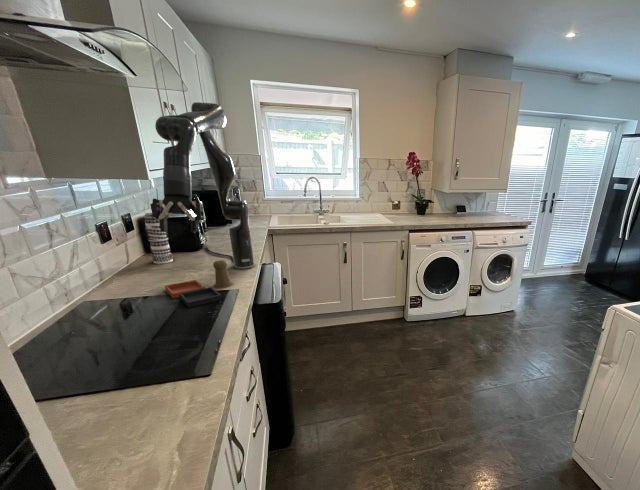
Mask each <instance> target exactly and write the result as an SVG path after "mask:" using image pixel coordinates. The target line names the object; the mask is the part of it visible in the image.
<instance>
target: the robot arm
mask: <svg viewBox="0 0 640 490" xmlns="http://www.w3.org/2000/svg"><path fill="white" fill-rule="evenodd" d="M190 110H191V111H186V112H183V113H180V114H171V115H169V114H168V115H162V116H160V117H158V118H157V119H156V121H155V125H154V128H155V131H156V133H157V134H158V136H159V137H160V138H161V139H163V140H164V141H168V142H177V143H176V144H175V145H171V146H167V147H165V148H163V171H162V181H163V182H162V183H163V185H162V186H163V199H159V198H155V197H154V198H152V206H151V207H152V208H151V213H152V216H153V217H155V218H158V219H159V221H160V230H162V232H166V233H168V231H169V229H168V219H169V217H171V216H172V215H173V214H174V215H179V214H181V215H186V216H187V217H188V218H189V219H190V221H189V222H190V233H191V234H196V233H197V232H198V229H199V224H198V223H199V221H204V220H205V213H204V203H203V201H200V200H198V199H197V200H195V201H193V199H192V198H193V190H192V188H193V186H192V185H193V184H192V173H191V155H192V151H193V147H194V144H195V142H196V137H197V135H199V137H200V140H201V142H202V146H203V148H204V151H205V154H206V159H207V161H208V166H209V169H210V171H211V175H212V177H213V180H214V183H215V187H216V190H217V194H218V198H219V203H220V209H221V211H222V215H223V217H224V218H225V219H226V220H229V221H230V220H231V221H240V222H239V224H237V225H234V226H231V227H229V228H228V231H229V233H228V234H229V238H230V245H231V252H232V255H229V254H224V253H219V252H215V251H212V250H210V248H209V246H208V245H205V249H206V251H207V252H209V253H211V254H214V255H216V256H217V255H218V256H223V257H228V258H231V260H232V262H233V267H234V269H238V270H245V269H251V268H253V267H255V261H254V253H253V252H254V251H253V245H252V237H251V228H250V213H249V205H248V203H247V202H246V200H231V199H230V195H229V193H230V190H231V187H232V185H233V183H234V180H235V178H236V171H235V167H234V163H233V160H232V158H231V156H230V155H229V154H228V153H227V151H225V150H224V148H222V146H221V145H220V144H219V143H218V142H217V140H215V138H214V136H213V134H212V132H211V130H222V129H224V128H225V127H226V126H227V125H226V124H227V116H226V112H225V109H224V108H223V106H222V105H220V104H217V103H213V102H198V101H197V102H193V103H192V104H191V109H190ZM163 205H164V206H165V207H164V208H163V209H162V206H163ZM192 207H194V208H195V211H196V214H195V213H194V211H193V210H192Z"/></svg>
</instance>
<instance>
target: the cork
mask: <svg viewBox="0 0 640 490" xmlns="http://www.w3.org/2000/svg"><path fill="white" fill-rule="evenodd" d="M212 267H213V269H214V271H215V274H214V276H215V288H219V289H221V288H222V289H223V288H228V287H231V286H232V283H231V278H230V276H229V273H228V270H227V267H228V263H227V261H225V260H215V261H214V262H213V263H212Z"/></svg>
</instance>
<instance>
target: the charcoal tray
mask: <svg viewBox="0 0 640 490" xmlns="http://www.w3.org/2000/svg"><path fill="white" fill-rule="evenodd" d="M179 296H180V297H179V299H180V300H181V301H182V302H183V303H184V304H185V305H186V306H187V307H188V309H190V308H194V307H197V306H203V305H207V304H209V303H214V302H218V301H222V300H223V296H222V294H221V293H219V292H218V291H217V290H216V289H215V288H213V286H209V287H205V288H204V289H199V290H194V291H190V292H185V293H180V294H179Z"/></svg>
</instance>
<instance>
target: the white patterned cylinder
mask: <svg viewBox="0 0 640 490" xmlns="http://www.w3.org/2000/svg"><path fill="white" fill-rule="evenodd" d="M143 218H144V225H145V227H144V230H145V233H146V238H147V240H148V242H149V245H150V253H151V258H152V261H153V264H159V265H160V264H168V263H171V262H172V263H173V261H174V259H173V258H174V257H173V253H172V250H171V249H172V248H171V247H170V244H169V236H168V235H169V233H168V232H162V230H160V221H159V219H158V218H155V217H153V216H152V212H147V213H146V212H145V213H144V216H143Z"/></svg>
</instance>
